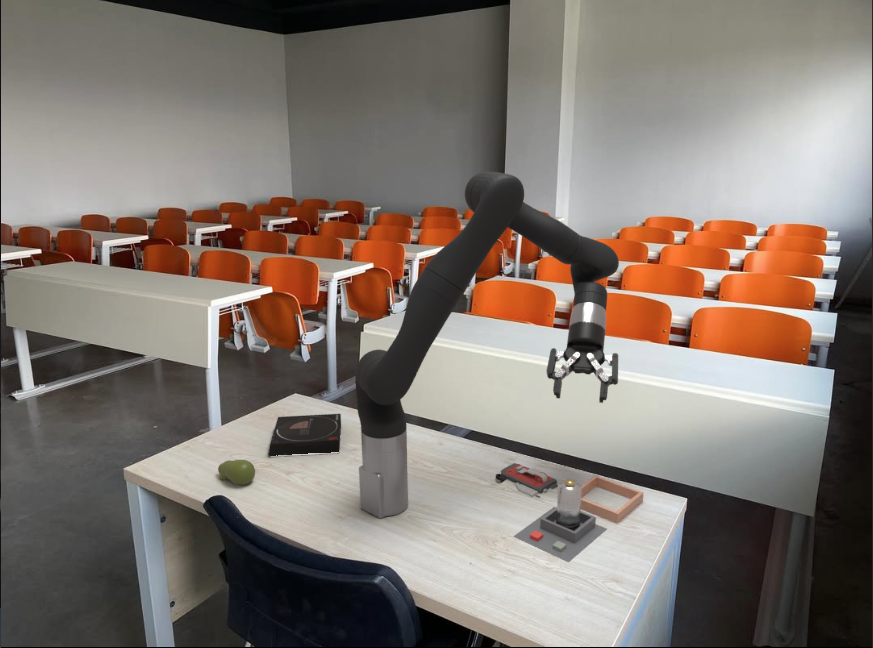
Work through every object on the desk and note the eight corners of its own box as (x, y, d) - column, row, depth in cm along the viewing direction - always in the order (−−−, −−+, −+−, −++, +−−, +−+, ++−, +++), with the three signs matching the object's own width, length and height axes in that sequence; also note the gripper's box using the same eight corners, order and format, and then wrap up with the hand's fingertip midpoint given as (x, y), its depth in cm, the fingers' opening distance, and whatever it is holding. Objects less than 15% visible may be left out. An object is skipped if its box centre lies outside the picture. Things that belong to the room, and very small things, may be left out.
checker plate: (568, 569, 118) (569, 552, 117) (513, 543, 125) (513, 526, 125) (606, 535, 128) (607, 519, 127) (553, 513, 135) (554, 498, 134)
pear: (237, 467, 144) (209, 462, 150) (242, 490, 145) (214, 484, 151) (257, 457, 148) (229, 453, 154) (262, 479, 149) (234, 474, 155)
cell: (571, 536, 125) (574, 489, 122) (551, 527, 128) (553, 481, 125) (584, 526, 128) (586, 480, 125) (563, 518, 131) (566, 473, 128)
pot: (616, 530, 129) (617, 514, 128) (567, 510, 137) (568, 494, 136) (642, 507, 137) (643, 492, 136) (594, 489, 144) (595, 475, 143)
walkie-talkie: (488, 485, 148) (563, 519, 134) (488, 467, 146) (564, 500, 133) (513, 471, 154) (587, 503, 140) (513, 454, 152) (588, 484, 139)
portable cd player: (276, 430, 177) (275, 417, 176) (341, 427, 178) (340, 413, 177) (268, 459, 161) (267, 444, 160) (339, 455, 163) (338, 440, 162)
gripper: (552, 317, 139) (542, 388, 132) (622, 322, 135) (616, 395, 128) (554, 335, 145) (545, 403, 138) (621, 339, 141) (616, 410, 134)
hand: (579, 399), depth 133 cm, fingers open, 8 cm apart
